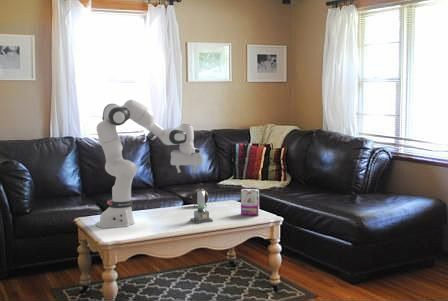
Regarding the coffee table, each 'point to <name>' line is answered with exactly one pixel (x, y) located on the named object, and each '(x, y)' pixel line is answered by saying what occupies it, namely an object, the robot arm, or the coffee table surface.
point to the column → (201, 201)
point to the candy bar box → (250, 202)
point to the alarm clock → (194, 196)
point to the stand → (201, 217)
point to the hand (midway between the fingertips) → (186, 172)
